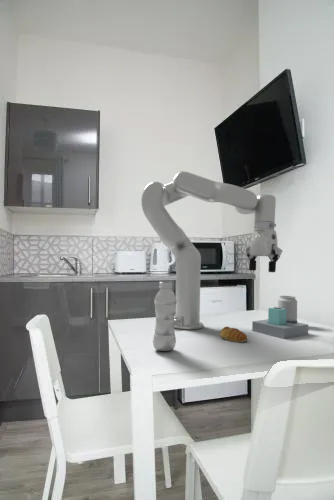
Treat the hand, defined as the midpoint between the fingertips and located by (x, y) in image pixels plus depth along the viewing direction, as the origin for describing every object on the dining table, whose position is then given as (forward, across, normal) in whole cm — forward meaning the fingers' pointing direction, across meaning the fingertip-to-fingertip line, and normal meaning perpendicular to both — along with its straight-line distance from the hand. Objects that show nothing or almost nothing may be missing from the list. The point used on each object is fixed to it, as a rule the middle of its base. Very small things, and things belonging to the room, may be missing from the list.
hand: (261, 271), depth 126 cm
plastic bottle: (+24, -7, +47) cm, 53 cm away
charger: (+22, -7, -2) cm, 24 cm away
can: (+22, 0, -17) cm, 28 cm away
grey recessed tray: (+22, -7, -3) cm, 24 cm away
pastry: (+23, -6, +19) cm, 31 cm away
